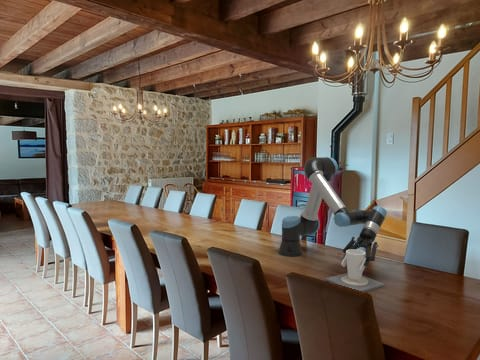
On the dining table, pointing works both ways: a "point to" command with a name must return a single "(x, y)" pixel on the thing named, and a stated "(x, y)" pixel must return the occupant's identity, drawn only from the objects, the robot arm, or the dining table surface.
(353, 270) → the foam cup
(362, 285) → the grey square plate
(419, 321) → the dining table surface
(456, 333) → the dining table surface
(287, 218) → the robot arm
